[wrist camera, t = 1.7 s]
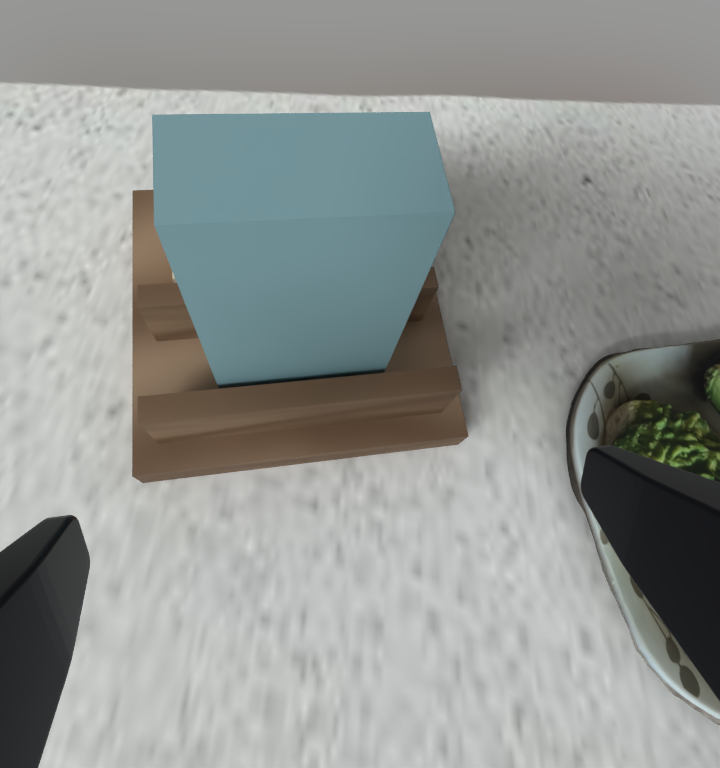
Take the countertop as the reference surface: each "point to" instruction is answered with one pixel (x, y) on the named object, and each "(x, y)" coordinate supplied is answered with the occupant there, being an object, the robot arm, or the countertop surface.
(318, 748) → the countertop surface
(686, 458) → the salad plate
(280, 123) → the pale teal tall slab
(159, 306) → the rack
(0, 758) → the robot arm
